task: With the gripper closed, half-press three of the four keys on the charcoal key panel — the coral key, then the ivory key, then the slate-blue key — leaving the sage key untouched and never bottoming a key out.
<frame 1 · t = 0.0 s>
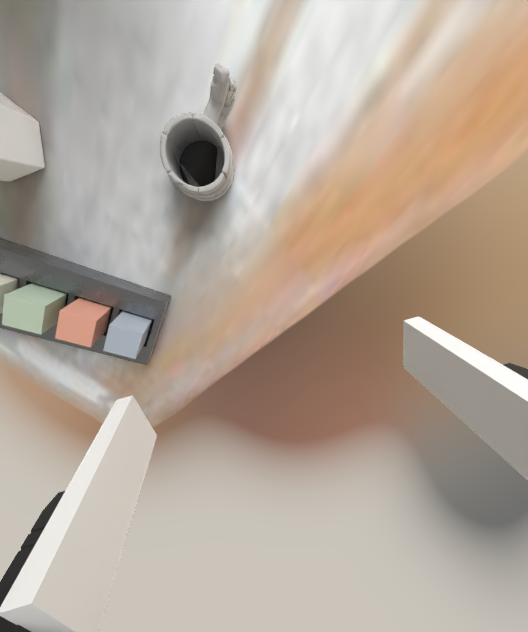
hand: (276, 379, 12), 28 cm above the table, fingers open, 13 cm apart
key slate: (128, 334, 35), point 5 cm above the table, slide at 0.0 cm
key panel: (80, 302, 37), on the table
key coral: (84, 322, 33), point 5 cm above the table, slide at 0.0 cm
mug: (210, 152, 32), on the table
jar: (4, 137, 28), on the table
key sage: (36, 308, 32), point 5 cm above the table, slide at 0.0 cm
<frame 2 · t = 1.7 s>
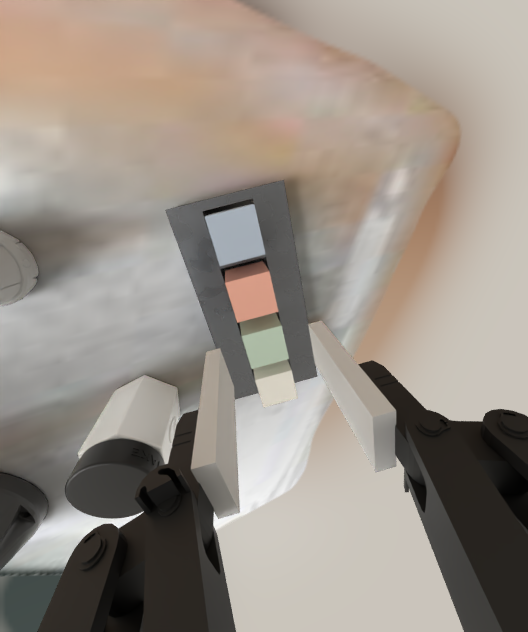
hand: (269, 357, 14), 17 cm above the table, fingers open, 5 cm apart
key ivory: (273, 376, 29), point 5 cm above the table, slide at 0.0 cm
key slate: (235, 233, 22), point 5 cm above the table, slide at 0.0 cm
key panel: (252, 299, 30), on the table
key coral: (250, 290, 25), point 5 cm above the table, slide at 0.0 cm
jar: (149, 400, 34), on the table
key sage: (263, 337, 27), point 5 cm above the table, slide at 0.0 cm
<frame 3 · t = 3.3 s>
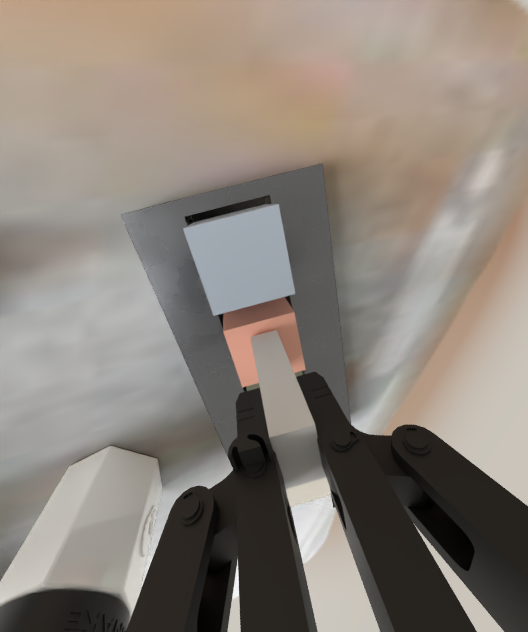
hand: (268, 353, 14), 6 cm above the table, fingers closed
key ivory: (295, 457, 20), point 5 cm above the table, slide at 0.0 cm
key slate: (240, 254, 13), point 5 cm above the table, slide at 0.0 cm
key panel: (263, 342, 21), on the table
key coral: (261, 333, 16), point 4 cm above the table, slide at 1.2 cm
jar: (119, 474, 25), on the table
key sage: (281, 407, 18), point 5 cm above the table, slide at 0.0 cm
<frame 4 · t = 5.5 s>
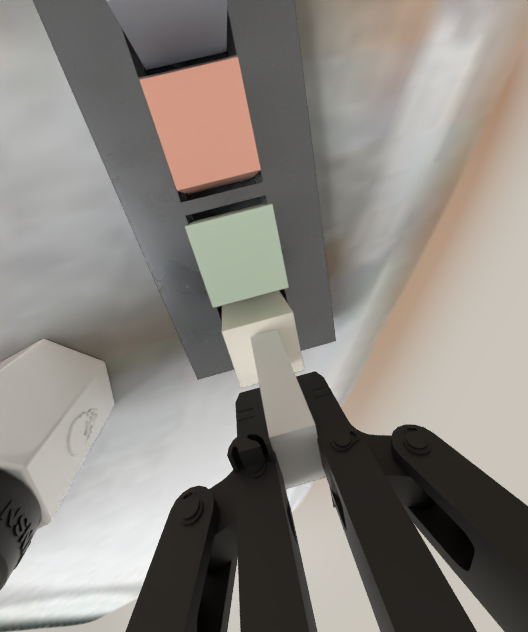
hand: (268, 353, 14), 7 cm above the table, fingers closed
key ivory: (260, 333, 16), point 5 cm above the table, slide at 0.2 cm, touching gripper
key panel: (223, 199, 17), on the table
key coral: (208, 140, 13), point 3 cm above the table, slide at 1.3 cm
jar: (61, 383, 21), on the table
key sage: (238, 251, 14), point 5 cm above the table, slide at 0.0 cm
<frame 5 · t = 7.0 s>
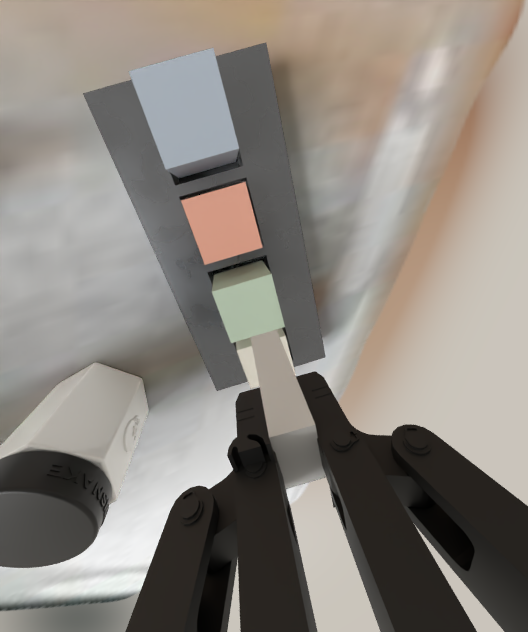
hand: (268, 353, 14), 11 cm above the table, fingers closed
key ivory: (263, 349, 23), point 3 cm above the table, slide at 1.3 cm
key slate: (193, 125, 14), point 5 cm above the table, slide at 0.0 cm
key panel: (234, 252, 22), on the table
key coral: (224, 223, 18), point 3 cm above the table, slide at 1.3 cm
jar: (107, 395, 26), on the table
key sage: (247, 298, 19), point 5 cm above the table, slide at 0.0 cm
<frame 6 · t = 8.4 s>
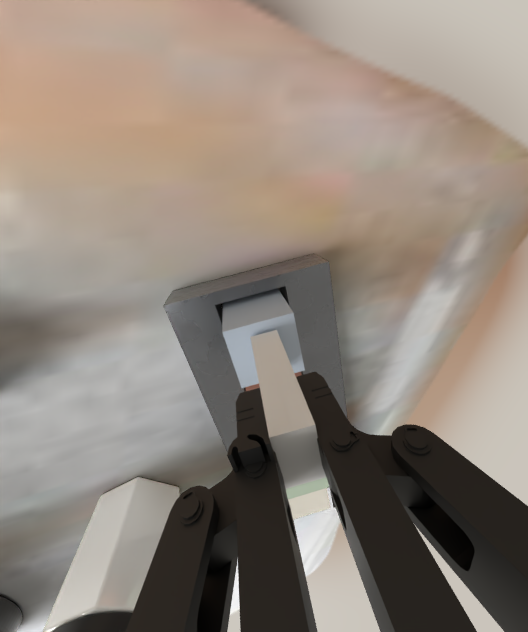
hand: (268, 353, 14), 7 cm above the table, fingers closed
key ivory: (299, 476, 24), point 3 cm above the table, slide at 1.3 cm
key slate: (261, 334, 16), point 4 cm above the table, slide at 0.6 cm, touching gripper
key panel: (275, 388, 24), on the table
key coral: (276, 390, 19), point 3 cm above the table, slide at 1.3 cm
jar: (144, 500, 28), on the table
key sage: (292, 451, 21), point 5 cm above the table, slide at 0.0 cm
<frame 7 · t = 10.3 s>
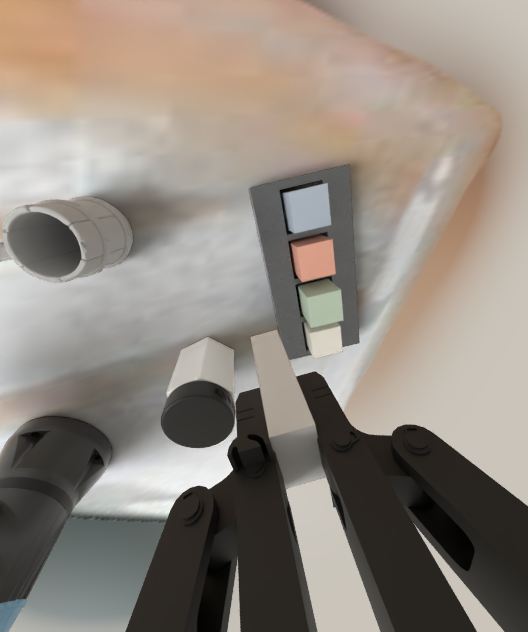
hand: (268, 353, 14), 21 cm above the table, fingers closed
key ivory: (321, 334, 35), point 3 cm above the table, slide at 1.3 cm
key slate: (305, 208, 28), point 3 cm above the table, slide at 1.3 cm
key panel: (306, 271, 34), on the table
key coral: (311, 257, 30), point 3 cm above the table, slide at 1.3 cm
mug: (85, 235, 30), on the table
jar: (208, 360, 39), on the table
key sage: (319, 302, 31), point 5 cm above the table, slide at 0.0 cm
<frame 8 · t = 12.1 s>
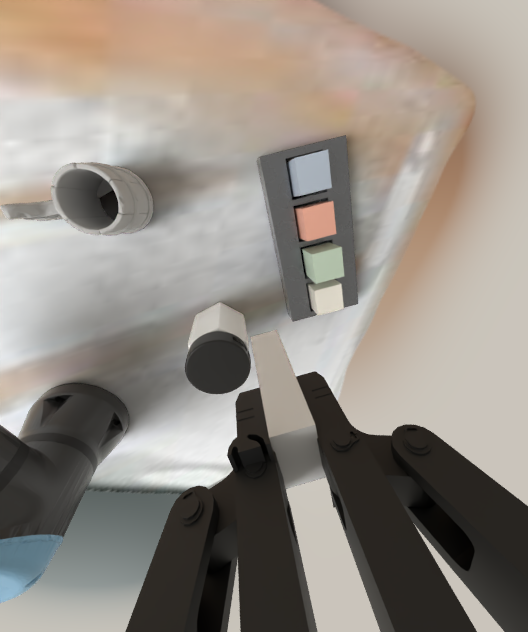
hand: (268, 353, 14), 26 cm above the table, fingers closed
key ivory: (324, 295, 39), point 3 cm above the table, slide at 1.3 cm
key slate: (308, 175, 32), point 3 cm above the table, slide at 1.3 cm
key panel: (309, 238, 38), on the table
key coral: (314, 220, 34), point 3 cm above the table, slide at 1.3 cm
mug: (110, 204, 33), on the table
jar: (220, 326, 42), on the table
key sage: (322, 262, 35), point 5 cm above the table, slide at 0.0 cm
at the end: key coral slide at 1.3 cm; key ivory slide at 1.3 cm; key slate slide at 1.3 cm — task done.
